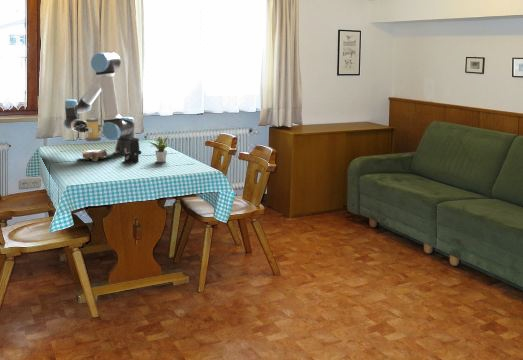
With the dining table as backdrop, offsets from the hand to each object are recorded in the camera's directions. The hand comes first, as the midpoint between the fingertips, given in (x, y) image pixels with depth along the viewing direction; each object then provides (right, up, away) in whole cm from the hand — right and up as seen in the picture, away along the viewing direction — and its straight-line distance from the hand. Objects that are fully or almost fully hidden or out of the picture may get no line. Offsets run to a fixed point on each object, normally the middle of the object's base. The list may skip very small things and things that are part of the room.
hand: (96, 129), depth 388 cm
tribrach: (-3, -18, +8) cm, 19 cm away
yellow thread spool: (-3, -6, +5) cm, 9 cm away
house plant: (+39, -19, +3) cm, 43 cm away
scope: (+22, -19, +1) cm, 29 cm away
